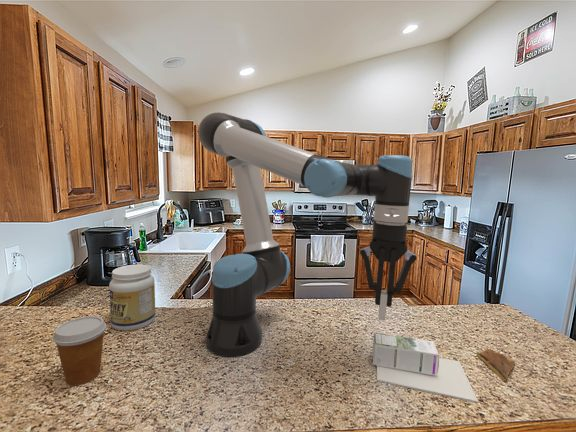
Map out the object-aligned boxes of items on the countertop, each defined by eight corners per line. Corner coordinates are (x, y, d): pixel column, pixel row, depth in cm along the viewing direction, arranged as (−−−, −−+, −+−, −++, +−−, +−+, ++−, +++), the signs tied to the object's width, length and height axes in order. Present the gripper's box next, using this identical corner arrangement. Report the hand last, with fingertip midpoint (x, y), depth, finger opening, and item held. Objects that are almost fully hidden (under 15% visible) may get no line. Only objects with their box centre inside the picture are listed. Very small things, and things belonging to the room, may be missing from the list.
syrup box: (372, 365, 70) (437, 378, 66) (374, 343, 69) (440, 354, 65) (372, 352, 75) (432, 362, 72) (373, 331, 74) (434, 340, 71)
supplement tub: (101, 326, 85) (98, 271, 83) (136, 310, 96) (134, 261, 94) (130, 336, 81) (128, 278, 79) (164, 317, 92) (162, 266, 90)
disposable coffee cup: (68, 398, 58) (63, 342, 56) (48, 379, 63) (44, 328, 61) (116, 372, 66) (114, 322, 64) (96, 357, 71) (93, 311, 69)
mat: (376, 381, 65) (377, 379, 65) (376, 347, 78) (376, 346, 78) (477, 403, 59) (478, 401, 59) (459, 362, 72) (459, 361, 72)
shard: (505, 385, 66) (506, 377, 65) (467, 368, 71) (468, 361, 71) (516, 365, 73) (517, 359, 72) (481, 351, 78) (482, 345, 78)
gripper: (360, 222, 65) (353, 320, 68) (422, 227, 62) (412, 330, 65) (362, 218, 73) (355, 307, 76) (417, 222, 69) (408, 315, 72)
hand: (381, 317), depth 70 cm, fingers closed
